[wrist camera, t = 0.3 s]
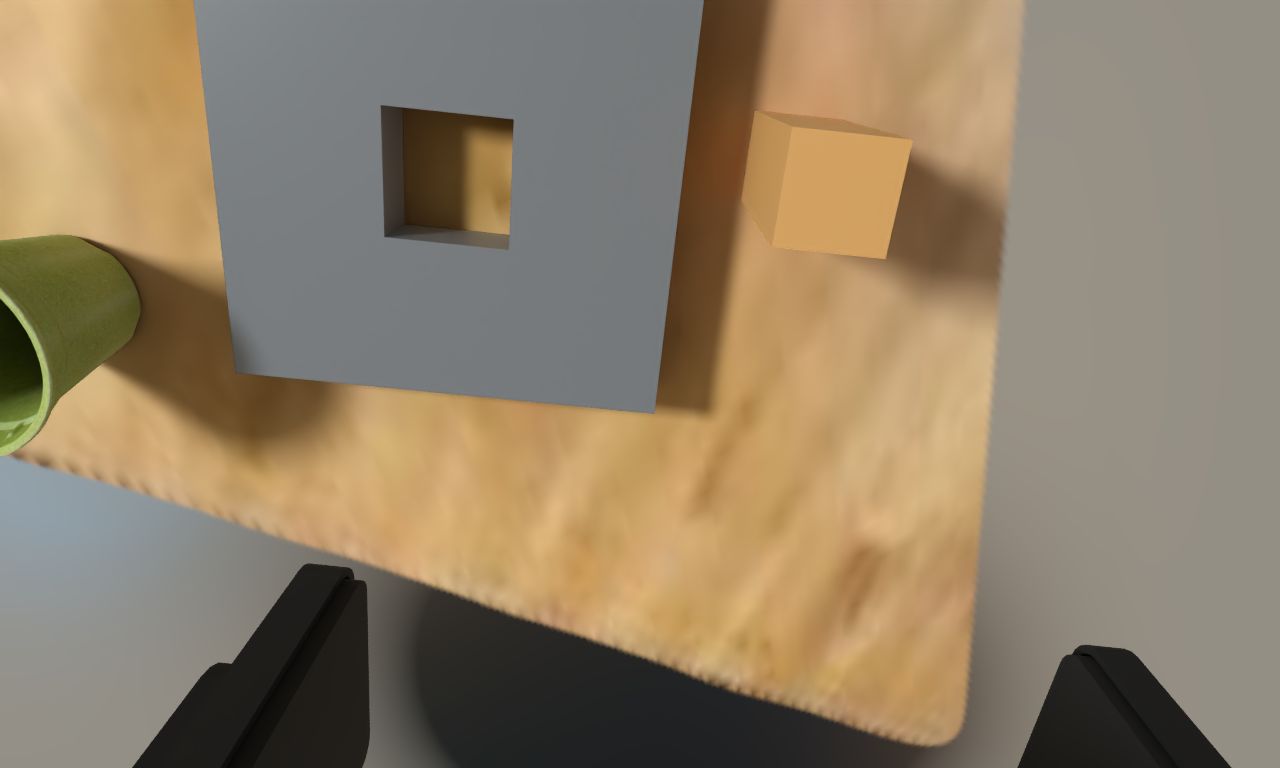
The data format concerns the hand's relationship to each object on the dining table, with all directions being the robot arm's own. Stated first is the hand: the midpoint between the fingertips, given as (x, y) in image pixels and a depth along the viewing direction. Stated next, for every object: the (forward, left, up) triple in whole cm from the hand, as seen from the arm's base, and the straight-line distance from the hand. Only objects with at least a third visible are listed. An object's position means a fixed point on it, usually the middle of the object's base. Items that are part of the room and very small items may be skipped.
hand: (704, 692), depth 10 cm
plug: (-4, +5, -28) cm, 29 cm away
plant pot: (+6, -29, -29) cm, 41 cm away
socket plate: (-2, -10, -28) cm, 30 cm away
